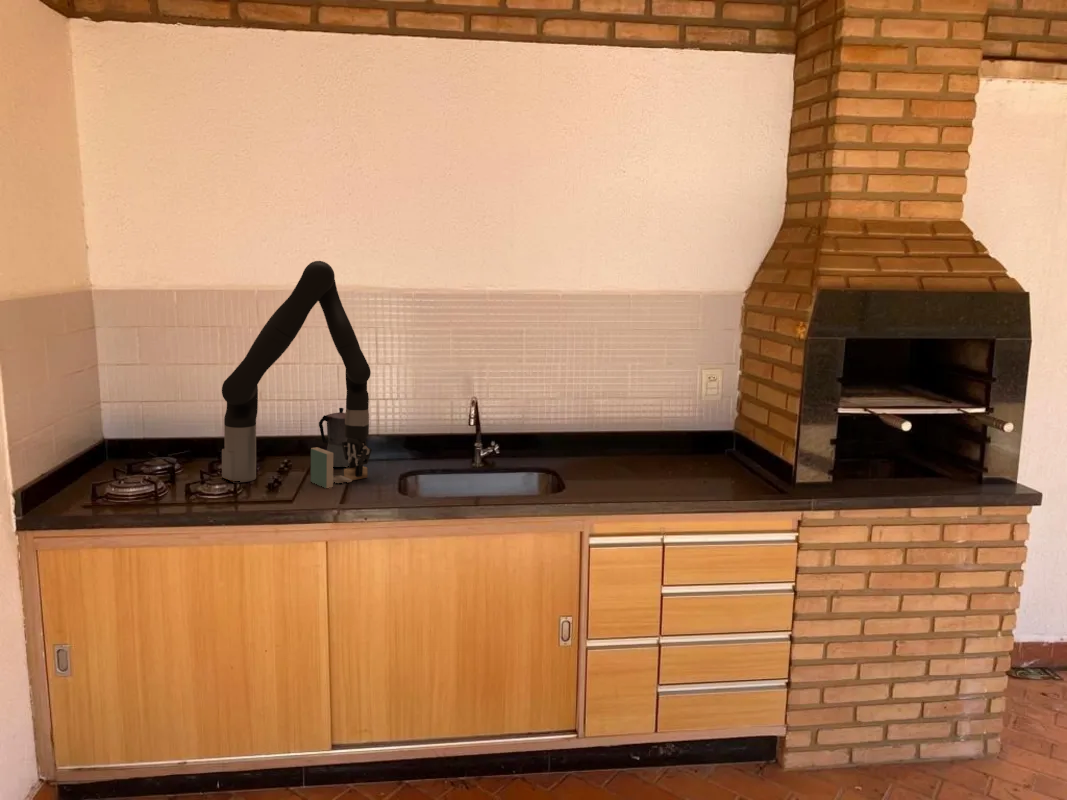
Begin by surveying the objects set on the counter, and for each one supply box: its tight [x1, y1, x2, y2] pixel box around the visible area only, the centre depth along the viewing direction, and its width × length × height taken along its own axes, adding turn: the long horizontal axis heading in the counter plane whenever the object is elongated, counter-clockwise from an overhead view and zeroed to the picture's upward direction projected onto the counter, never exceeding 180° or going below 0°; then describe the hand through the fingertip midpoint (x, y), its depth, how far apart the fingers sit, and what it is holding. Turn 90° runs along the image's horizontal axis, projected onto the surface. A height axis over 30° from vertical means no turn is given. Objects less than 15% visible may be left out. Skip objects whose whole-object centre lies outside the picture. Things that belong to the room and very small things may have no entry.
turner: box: [333, 465, 368, 484], centre depth 258 cm, size 12×6×3 cm, turn 136°
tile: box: [310, 447, 334, 489], centre depth 250 cm, size 2×9×11 cm, turn 46°
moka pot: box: [318, 407, 349, 467], centre depth 273 cm, size 10×15×20 cm, turn 148°
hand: (355, 475), depth 260 cm, fingers closed on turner, 2 cm apart
